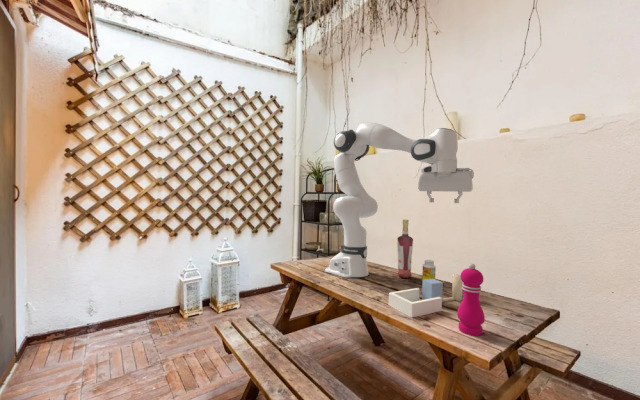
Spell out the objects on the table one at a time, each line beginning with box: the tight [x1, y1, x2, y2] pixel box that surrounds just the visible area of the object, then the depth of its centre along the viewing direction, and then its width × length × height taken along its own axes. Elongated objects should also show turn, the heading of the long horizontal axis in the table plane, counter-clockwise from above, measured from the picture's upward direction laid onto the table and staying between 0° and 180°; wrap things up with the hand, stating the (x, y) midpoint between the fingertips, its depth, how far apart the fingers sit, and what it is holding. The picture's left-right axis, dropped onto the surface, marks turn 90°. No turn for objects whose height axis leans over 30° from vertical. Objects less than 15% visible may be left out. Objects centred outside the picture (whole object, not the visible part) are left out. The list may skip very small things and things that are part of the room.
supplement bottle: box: [421, 259, 437, 280], centre depth 130 cm, size 6×6×10 cm
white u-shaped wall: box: [388, 287, 443, 318], centre depth 100 cm, size 14×11×4 cm
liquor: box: [396, 219, 414, 279], centre depth 138 cm, size 7×7×28 cm
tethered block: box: [421, 274, 463, 303], centre depth 108 cm, size 16×5×9 cm, turn 110°
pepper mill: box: [456, 263, 486, 337], centre depth 84 cm, size 7×7×20 cm
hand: (443, 202), depth 115 cm, fingers open, 8 cm apart
